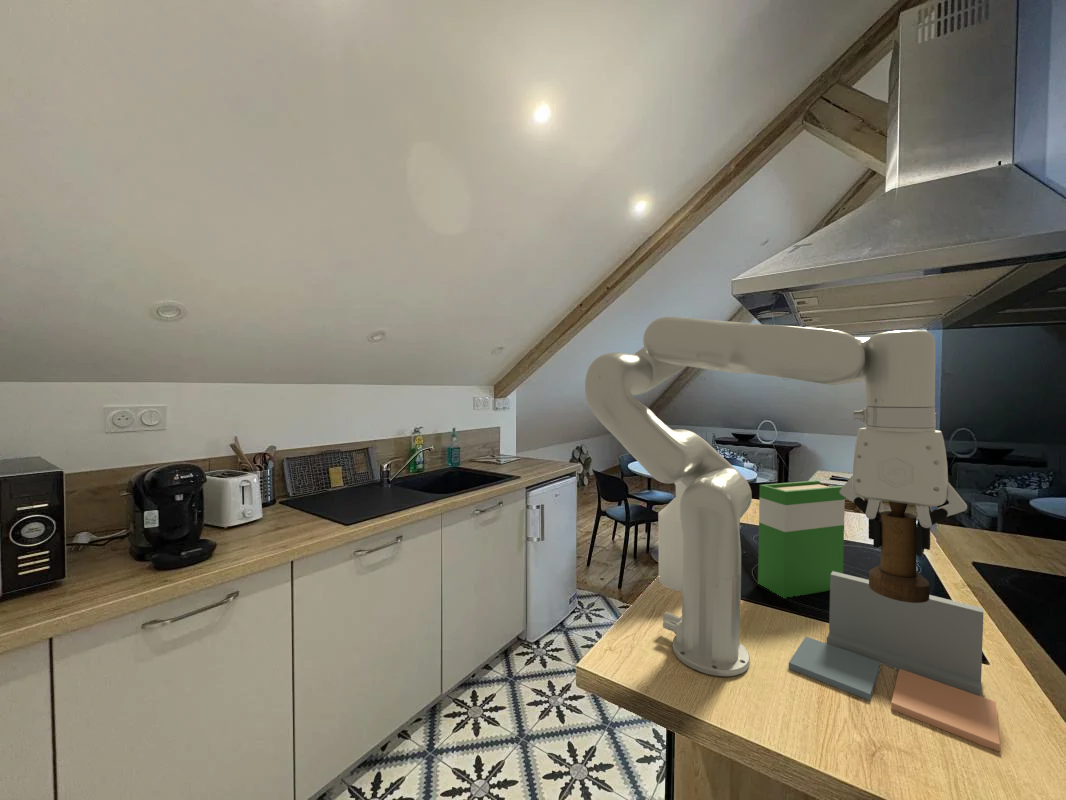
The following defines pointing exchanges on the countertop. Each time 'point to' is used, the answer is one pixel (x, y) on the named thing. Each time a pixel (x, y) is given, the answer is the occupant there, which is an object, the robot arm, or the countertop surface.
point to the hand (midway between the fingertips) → (898, 547)
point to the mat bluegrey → (836, 667)
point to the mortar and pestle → (898, 559)
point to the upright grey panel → (908, 632)
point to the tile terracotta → (947, 708)
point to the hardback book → (800, 537)
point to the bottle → (671, 542)
